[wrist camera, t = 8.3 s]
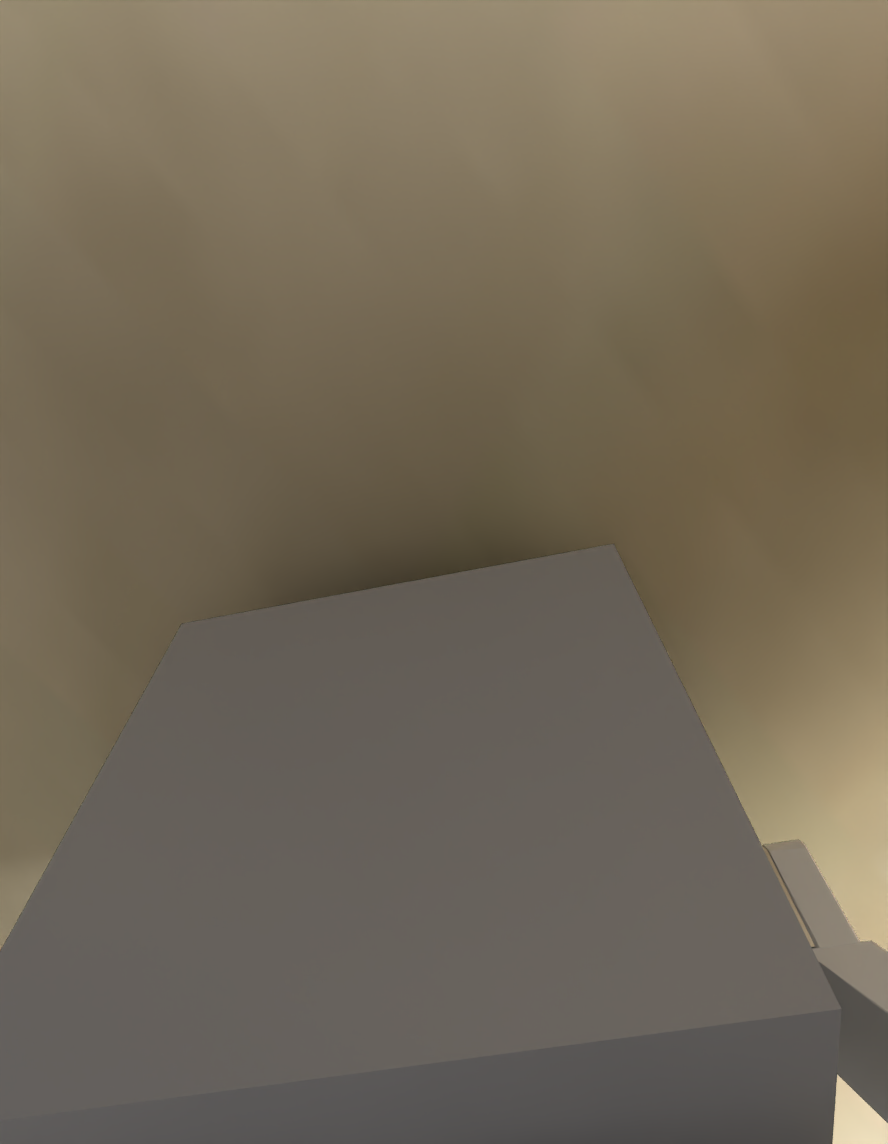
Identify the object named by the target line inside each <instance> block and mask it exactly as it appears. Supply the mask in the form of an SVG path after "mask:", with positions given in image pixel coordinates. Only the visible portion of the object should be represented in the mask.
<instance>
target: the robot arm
mask: <svg viewBox="0 0 888 1144" xmlns="http://www.w3.org/2000/svg"><path fill="white" fill-rule="evenodd" d="M762 847H763V850H764V852H765V854H766V856H767V858H768V860H769V862H770V864H771V866H772V868H773V870H774V872H775V874H776V876H777V878H778V880H779V882H780V884H781V886H782V888H783V890H784V892H785V894H786V896H787V899H788V901H789V903H790V905H791V907H792V909H793V911H794V913H795V915H796V917H797V919H798V921H799V923H800V925H801V927H802V929H803V931H804V933H805V935H806V937H807V939H808V941H809V943H810V945H811V948H812V950H813V952H814V954H815V956H816V958H817V960H818V962H819V964H820V966H821V968H822V970H823V972H824V974H825V976H826V978H827V980H828V982H829V984H830V986H831V988H832V990H833V992H834V994H835V997H836V999H837V1001H838V1003H839V1005H840V1007H841V1009H842V1010H841V1024H840V1038H839V1053H838V1067H837V1074H838V1075H839V1076H840V1077H841V1078H842V1079H843V1080H844V1081H845V1082H846V1083H847V1084H848V1085H849V1086H850V1087H851V1088H852V1089H853V1090H854V1091H855V1092H856V1093H857V1094H858V1095H859V1096H860V1097H861V1098H862V1099H863V1100H864V1101H865V1102H867V1103H868V1104H869V1105H870V1106H871V1107H872V1108H873V1109H874V1110H875V1111H876V1112H877V1113H878V1114H879V1115H880V1116H881V1117H882V1118H883V1119H884V1120H885V1121H886V1122H887V1123H888V951H886V950H885V949H883V948H882V947H880V946H879V945H878V944H876V943H875V942H873V941H862V942H860V940H859V939H858V937H857V935H856V933H855V932H854V930H853V928H852V926H851V924H850V923H849V921H848V919H847V917H846V916H845V914H844V912H843V910H842V909H841V907H840V905H839V903H838V901H837V900H836V898H835V896H834V894H833V893H832V891H831V889H830V887H829V885H828V884H827V882H826V880H825V878H824V877H823V875H822V873H821V871H820V870H819V868H818V866H817V864H816V862H815V861H814V859H813V857H812V855H811V854H810V852H809V850H808V848H807V847H806V845H805V844H804V843H803V842H802V841H800V840H799V839H798V840H791V841H784V842H778V843H771V844H765V845H762Z"/></svg>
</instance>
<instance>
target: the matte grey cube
mask: <svg viewBox="0 0 888 1144" xmlns="http://www.w3.org/2000/svg"><path fill="white" fill-rule="evenodd" d="M841 1010H842V1009H841V1007H840V1005H839V1003H838V1001H837V999H836V997H835V994H834V992H833V990H832V988H831V986H830V984H829V982H828V980H827V978H826V976H825V974H824V972H823V970H822V968H821V966H820V964H819V962H818V960H817V958H816V956H815V954H814V952H813V950H812V948H811V945H810V943H809V941H808V939H807V937H806V935H805V933H804V931H803V929H802V927H801V925H800V923H799V921H798V919H797V917H796V915H795V913H794V911H793V909H792V907H791V905H790V903H789V901H788V899H787V896H786V894H785V892H784V890H783V888H782V886H781V884H780V882H779V880H778V878H777V876H776V874H775V872H774V870H773V868H772V866H771V864H770V862H769V860H768V858H767V856H766V854H765V852H764V850H763V847H762V845H761V843H760V841H759V839H758V837H757V835H756V833H755V831H754V829H753V827H752V825H751V823H750V821H749V819H748V817H747V815H746V813H745V811H744V809H743V807H742V805H741V803H740V801H739V798H738V796H737V794H736V792H735V790H734V788H733V786H732V784H731V782H730V780H729V778H728V776H727V774H726V772H725V770H724V768H723V766H722V764H721V762H720V760H719V758H718V756H717V754H716V752H715V749H714V747H713V745H712V743H711V741H710V739H709V737H708V735H707V733H706V731H705V729H704V727H703V725H702V723H701V721H700V719H699V717H698V715H697V713H696V711H695V709H694V707H693V705H692V703H691V700H690V698H689V696H688V694H687V692H686V690H685V688H684V686H683V684H682V682H681V680H680V678H679V676H678V674H677V672H676V670H675V668H674V666H673V664H672V662H671V660H670V658H669V656H668V654H667V651H666V649H665V647H664V645H663V643H662V641H661V639H660V637H659V635H658V633H657V631H656V629H655V627H654V625H653V623H652V621H651V619H650V617H649V615H648V613H647V611H646V609H645V607H644V605H643V602H642V600H641V598H640V596H639V594H638V592H637V590H636V588H635V586H634V584H633V582H632V580H631V578H630V576H629V574H628V572H627V570H626V568H625V566H624V564H623V562H622V560H621V558H620V556H619V554H618V551H617V549H616V547H615V545H614V544H609V545H604V546H598V547H593V548H588V549H582V550H577V551H571V552H566V553H561V554H555V555H550V556H544V557H539V558H534V559H528V560H523V561H517V562H512V563H506V564H501V565H496V566H490V567H485V568H479V569H474V570H469V571H463V572H458V573H452V574H447V575H442V576H436V577H431V578H425V579H420V580H415V581H409V582H404V583H398V584H393V585H388V586H382V587H377V588H371V589H366V590H361V591H355V592H350V593H344V594H339V595H334V596H328V597H323V598H317V599H312V600H306V601H301V602H296V603H290V604H285V605H279V606H274V607H269V608H263V609H258V610H252V611H247V612H242V613H236V614H231V615H225V616H220V617H215V618H209V619H204V620H198V621H193V622H188V623H182V624H181V626H180V628H179V629H178V631H177V633H176V635H175V637H174V638H173V640H172V642H171V644H170V646H169V647H168V649H167V651H166V653H165V655H164V656H163V658H162V660H161V662H160V664H159V665H158V667H157V669H156V671H155V673H154V674H153V676H152V678H151V680H150V682H149V684H148V685H147V687H146V689H145V691H144V693H143V694H142V696H141V698H140V700H139V702H138V703H137V705H136V707H135V709H134V711H133V712H132V714H131V716H130V718H129V720H128V721H127V723H126V725H125V727H124V729H123V730H122V732H121V734H120V736H119V738H118V740H117V741H116V743H115V745H114V747H113V749H112V750H111V752H110V754H109V756H108V758H107V759H106V761H105V763H104V765H103V767H102V768H101V770H100V772H99V774H98V776H97V777H96V779H95V781H94V783H93V785H92V786H91V788H90V790H89V792H88V794H87V796H86V797H85V799H84V801H83V803H82V805H81V806H80V808H79V810H78V812H77V814H76V815H75V817H74V819H73V821H72V823H71V824H70V826H69V828H68V830H67V832H66V833H65V835H64V837H63V839H62V841H61V842H60V844H59V846H58V848H57V850H56V852H55V853H54V855H53V857H52V859H51V861H50V862H49V864H48V866H47V868H46V870H45V871H44V873H43V875H42V877H41V879H40V880H39V882H38V884H37V886H36V888H35V889H34V891H33V893H32V895H31V897H30V899H29V900H28V902H27V904H26V906H25V908H24V909H23V911H22V913H21V915H20V917H19V918H18V920H17V922H16V924H15V926H14V927H13V929H12V931H11V933H10V935H9V936H8V938H7V940H6V942H5V944H4V945H3V947H2V949H1V951H0V1144H832V1139H833V1125H834V1111H835V1096H836V1082H837V1067H838V1053H839V1038H840V1024H841Z"/></svg>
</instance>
